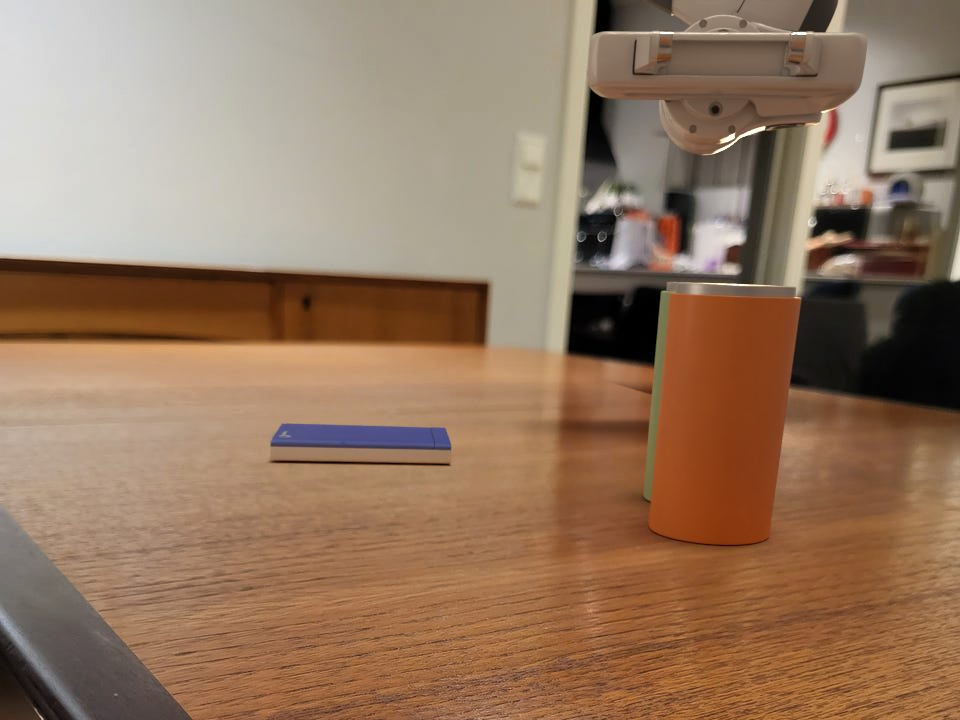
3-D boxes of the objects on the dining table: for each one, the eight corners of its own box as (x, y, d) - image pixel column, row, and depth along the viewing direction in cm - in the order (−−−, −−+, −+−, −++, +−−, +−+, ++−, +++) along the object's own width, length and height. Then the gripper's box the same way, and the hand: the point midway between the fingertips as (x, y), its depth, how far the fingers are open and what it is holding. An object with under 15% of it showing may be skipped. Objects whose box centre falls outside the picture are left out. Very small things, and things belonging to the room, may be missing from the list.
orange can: (732, 514, 58) (760, 285, 53) (792, 542, 52) (829, 287, 48) (630, 517, 56) (650, 281, 52) (679, 547, 50) (707, 283, 46)
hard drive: (269, 439, 68) (451, 443, 69) (281, 421, 76) (445, 425, 77) (270, 462, 68) (451, 465, 70) (282, 442, 76) (444, 446, 77)
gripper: (591, 36, 82) (583, -9, 69) (849, 37, 79) (890, -9, 67) (586, 122, 84) (577, 94, 71) (836, 126, 82) (874, 97, 69)
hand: (731, 44), depth 69 cm, fingers open, 8 cm apart
